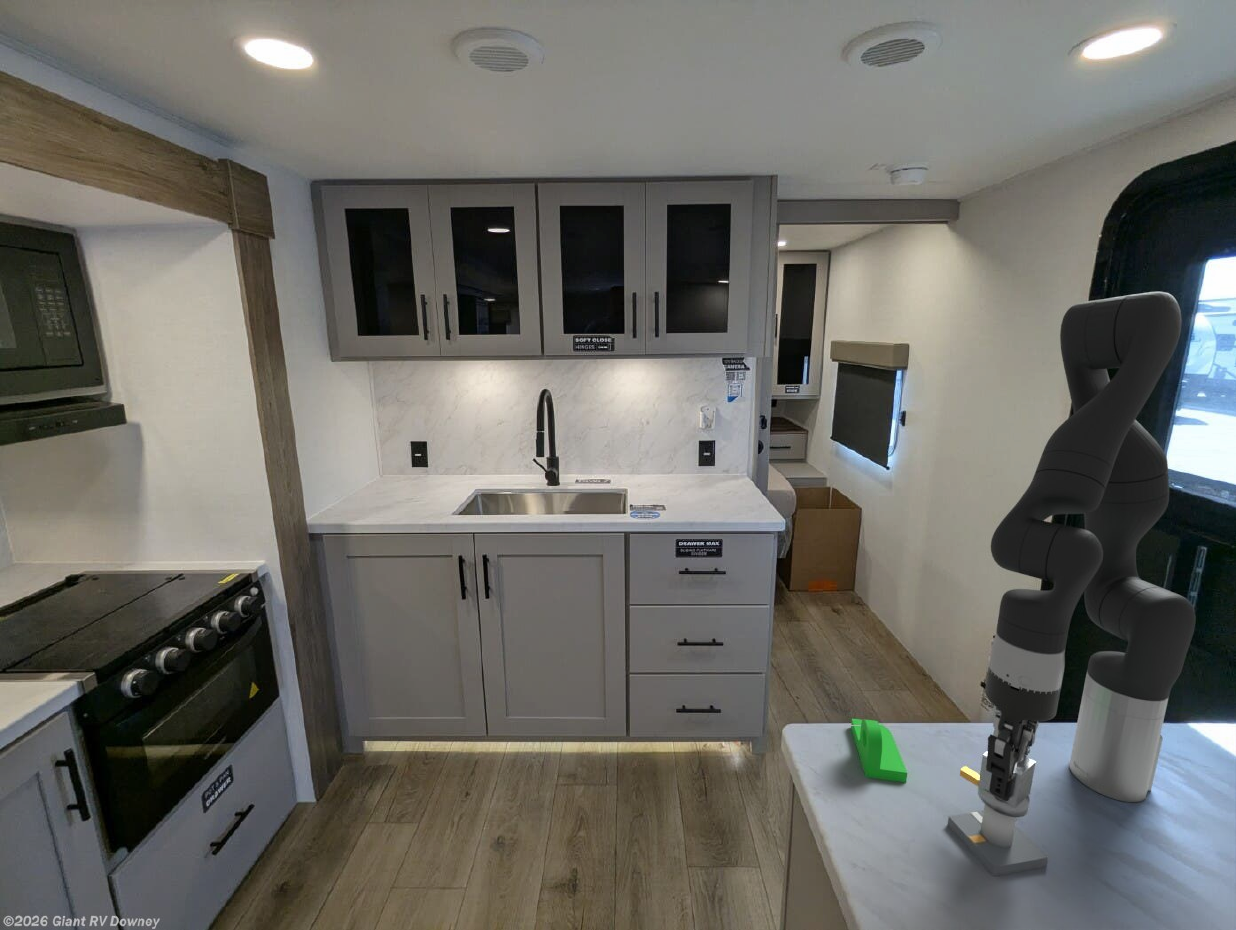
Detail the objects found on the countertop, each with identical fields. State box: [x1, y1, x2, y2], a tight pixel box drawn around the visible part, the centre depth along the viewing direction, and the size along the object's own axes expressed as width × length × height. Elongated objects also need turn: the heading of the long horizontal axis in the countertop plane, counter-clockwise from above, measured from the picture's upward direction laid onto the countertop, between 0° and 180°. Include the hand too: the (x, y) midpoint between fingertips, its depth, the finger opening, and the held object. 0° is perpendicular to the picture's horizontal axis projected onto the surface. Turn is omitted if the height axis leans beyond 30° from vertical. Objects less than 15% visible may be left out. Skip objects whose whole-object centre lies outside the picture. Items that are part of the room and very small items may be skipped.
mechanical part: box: [850, 718, 908, 783], centre depth 92 cm, size 12×6×8 cm, turn 168°
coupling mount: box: [947, 803, 1049, 877], centre depth 75 cm, size 8×8×7 cm
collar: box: [959, 751, 1037, 818], centre depth 74 cm, size 6×8×7 cm
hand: (1005, 785), depth 73 cm, fingers closed on collar, 4 cm apart
